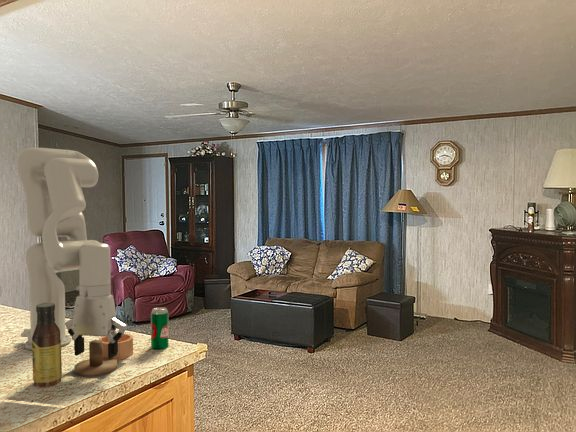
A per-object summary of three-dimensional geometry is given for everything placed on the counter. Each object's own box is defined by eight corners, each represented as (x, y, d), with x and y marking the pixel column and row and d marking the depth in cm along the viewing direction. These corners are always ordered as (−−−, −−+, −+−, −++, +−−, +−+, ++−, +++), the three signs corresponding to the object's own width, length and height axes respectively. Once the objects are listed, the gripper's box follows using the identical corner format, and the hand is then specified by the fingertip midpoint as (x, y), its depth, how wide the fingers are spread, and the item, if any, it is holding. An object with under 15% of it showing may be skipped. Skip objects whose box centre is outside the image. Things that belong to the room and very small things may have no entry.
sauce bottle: (40, 379, 116) (38, 300, 115) (66, 379, 117) (64, 300, 116) (27, 390, 110) (26, 307, 109) (55, 389, 110) (54, 306, 109)
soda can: (163, 351, 137) (163, 311, 137) (147, 350, 138) (147, 310, 138) (171, 346, 142) (171, 307, 142) (156, 345, 143) (155, 306, 143)
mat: (63, 376, 118) (63, 374, 118) (90, 361, 129) (90, 359, 129) (102, 380, 116) (102, 378, 116) (126, 364, 127) (126, 363, 127)
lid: (65, 374, 118) (65, 346, 118) (90, 360, 128) (90, 334, 128) (102, 378, 116) (102, 349, 116) (124, 363, 126) (124, 337, 126)
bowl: (91, 360, 130) (91, 342, 130) (110, 349, 139) (110, 332, 139) (121, 363, 128) (121, 344, 128) (139, 352, 137) (138, 334, 137)
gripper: (56, 291, 119) (57, 357, 120) (117, 295, 116) (118, 362, 117) (75, 286, 127) (75, 348, 128) (133, 289, 123) (133, 353, 124)
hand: (96, 355), depth 122 cm, fingers open, 9 cm apart
